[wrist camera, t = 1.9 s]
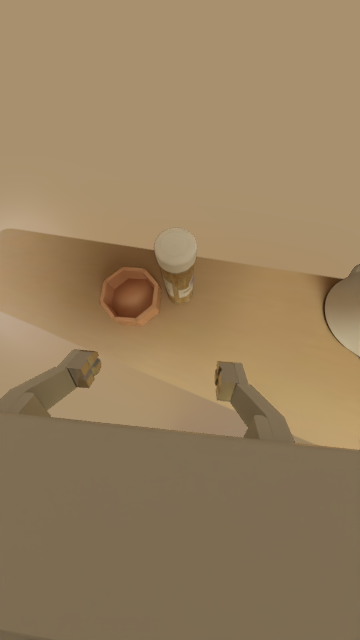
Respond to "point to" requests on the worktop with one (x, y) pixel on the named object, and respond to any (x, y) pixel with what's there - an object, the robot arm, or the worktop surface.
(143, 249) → the worktop surface
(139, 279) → the bowl
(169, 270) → the sprinkles bottle
